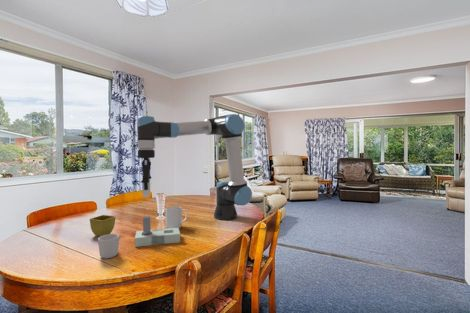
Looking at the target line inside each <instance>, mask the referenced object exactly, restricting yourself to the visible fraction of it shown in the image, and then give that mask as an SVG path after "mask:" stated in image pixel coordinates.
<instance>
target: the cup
mask: <svg viewBox="0 0 470 313" xmlns="http://www.w3.org/2000/svg"><path fill="white" fill-rule="evenodd" d="M97 244H98V252H99V256H100V258H101V259H111V258H114V257H115V256H117V255H118V253H119V246H120V235H119V234H118V233H110V234H107V235H103V236H98V238H97Z"/></svg>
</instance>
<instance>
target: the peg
mask: <svg viewBox="0 0 470 313" xmlns="http://www.w3.org/2000/svg"><path fill="white" fill-rule="evenodd" d="M151 222H152V220H151V215H143V216H142V231H143V235H151V230H152V226H151Z"/></svg>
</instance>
